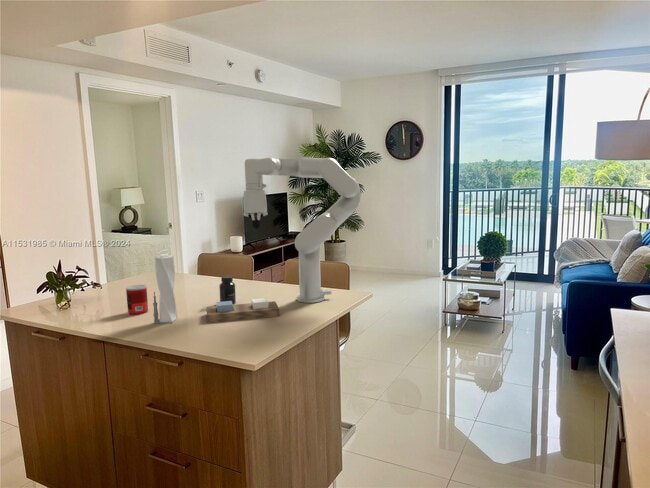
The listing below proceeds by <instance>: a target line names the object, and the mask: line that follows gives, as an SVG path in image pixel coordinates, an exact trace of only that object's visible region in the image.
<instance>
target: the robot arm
mask: <svg viewBox="0 0 650 488" xmlns="http://www.w3.org/2000/svg"><path fill="white" fill-rule="evenodd" d="M263 176H283V177H284V176H288V177H297V178H309V179H310V178H311V179H312V178H313V179H323V180H324V181H326V183H328V185H330V186H331V188H333V190H335V191H336V193H338V195H340V197H339V198H338V200H337V201H335V202H334V203H333V204H332V205H331V206H330V207H329V208H328V209H327V210H325V212H323V213H322V214H320V215H318V216H317V217H315V218H314V220H313V221H312V222H310V223H309V224H308V225H307V226H306V227H305V228H304V229H303V230H301V231H300V232H299V233H298V234H297V235H296V237H295V239H294V247H295V249H296V250H297V251H298V280H299V281H298V282H299V295H297V296H296V298H295V299H296V301H297V302H299V303H304V304H305V303H306V304H309V303H310V304H311V303H312V304H313V303H319V302H323V301H324V300H325V295H332V292H333V291H332V290H331V289H329V290H328V289H323V288H322V286H321V285H322V282H321V278H322V277H321V246H322V244H323V243H325V242H326V241H327V240H328V239H329V238H330V237H331V236H333V234H334V233H335V231H336V230H337V229H338V228H339V227H340V226H341V225H342V224H343V223H345V221H346V220H347V219H348V218H349V217H350V216H352V214H353V213H354V212H355V211H356V209H357V208H358V207H359V203H360V201H361V195H362V194H361V193H362V192H361V188H360V185H359V182H358V181H357V179H356V178H354V177H352V176H351V175H349V173H348V172H347V171H346V170H344V168H342V166H341V165H340V163H339V162H338V161H337V160H336V159H335V158H332V157H325V158H324V157H298V158H274V157H265V158H247V159H245V161H244V177H245V178H244V179H245V180H244V182H245V190H244V191H243V199H242V201H243V202H242V204H243V205H242V206H243V214H242V215H243V216H244V217H248V218H249V219H250V220H251V222H252V224H251V225H252V228H253V229H254V230H259V228H260V220H261V219H263V218H262V217H266V216H268V214H269V213H268V203H267V195H266V191H265V190H264V189H265V188H267V184H265V183H264V180H263V178H264V177H263ZM255 214H256V218H255Z"/></svg>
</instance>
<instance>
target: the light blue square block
mask: <svg viewBox="0 0 650 488" xmlns="http://www.w3.org/2000/svg"><path fill="white" fill-rule="evenodd" d="M233 305H234V304H232V301H224V302H220V301H216V306H217V312H227V311H233Z"/></svg>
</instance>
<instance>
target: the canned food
mask: <svg viewBox="0 0 650 488" xmlns="http://www.w3.org/2000/svg"><path fill="white" fill-rule="evenodd" d="M147 289H148V288H147V285H145V284H135V285H134V284H133V285H130V286H127V287H126V288H125V290H126V291H125V292H126V293H125V294H126V304H127V312H128V315H130V316H138V315H139V316H140V315H143V314H146V313H148V311H149V303H148V301H149V300H148V291H147Z"/></svg>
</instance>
